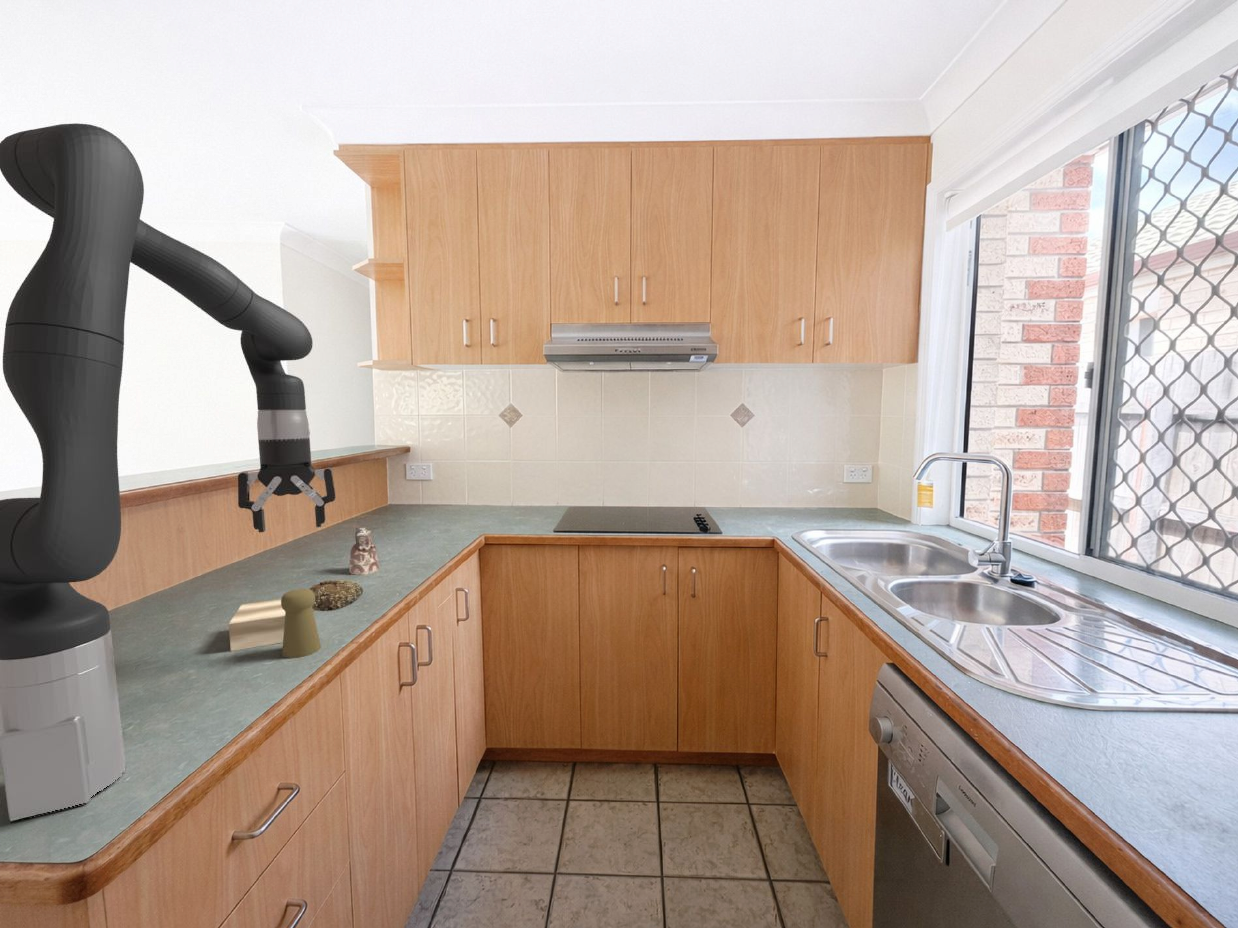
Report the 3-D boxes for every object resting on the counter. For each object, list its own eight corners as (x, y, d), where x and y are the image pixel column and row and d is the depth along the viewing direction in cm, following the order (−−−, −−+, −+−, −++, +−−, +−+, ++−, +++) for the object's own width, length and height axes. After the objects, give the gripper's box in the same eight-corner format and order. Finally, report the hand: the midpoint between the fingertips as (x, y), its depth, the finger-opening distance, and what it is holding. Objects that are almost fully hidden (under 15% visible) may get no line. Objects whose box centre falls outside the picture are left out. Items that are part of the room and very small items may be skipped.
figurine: (353, 576, 138) (350, 531, 137) (346, 570, 143) (343, 527, 142) (382, 571, 143) (379, 527, 142) (374, 565, 148) (371, 523, 147)
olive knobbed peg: (303, 659, 91) (298, 597, 90) (273, 656, 92) (268, 595, 91) (328, 644, 97) (324, 586, 96) (300, 641, 98) (296, 584, 97)
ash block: (302, 639, 99) (300, 613, 99) (230, 651, 95) (228, 624, 94) (307, 618, 109) (306, 595, 109) (243, 628, 105) (241, 604, 104)
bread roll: (370, 592, 126) (369, 572, 126) (343, 611, 114) (341, 589, 114) (317, 593, 126) (316, 572, 126) (284, 612, 114) (282, 590, 114)
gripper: (229, 438, 85) (237, 538, 86) (330, 436, 91) (336, 528, 92) (238, 437, 91) (246, 529, 93) (332, 434, 98) (337, 521, 99)
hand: (291, 528), depth 93 cm, fingers open, 8 cm apart
